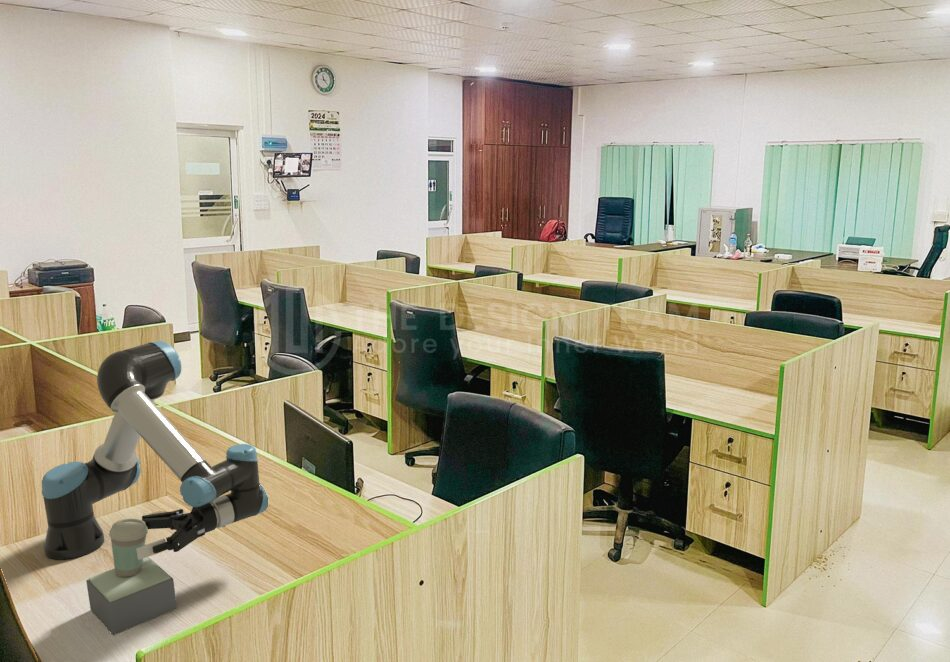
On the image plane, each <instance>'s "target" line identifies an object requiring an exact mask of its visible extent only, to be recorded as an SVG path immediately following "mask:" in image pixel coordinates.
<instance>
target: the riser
mask: <svg viewBox="0 0 950 662" xmlns="http://www.w3.org/2000/svg"><path fill="white" fill-rule="evenodd" d="M85 581H86V588H87V594H88V600H89V601H88V602H89V608H90V611H91V612H92V613H93V615H94V616H95V617H96V616H97V617H96V618H97V619H98V620H99V621H100V623H103V624H104V625H103V624H102V625H103V626H104V627H105V628H106V630H108V631H110V632H111V633H110V632H109V633H110V634H111V635H112V636H115V634H116V635H117V634H120V633H123V632H125V631H127V630H130V629H132V628H135V627H136V626H139V625H142V624H144V623H147V622H149V621H151V620H154V619H156V618H158V617H161V616H163V615H165V614H167V613H169V612H174V611H175V610H177V609H178V604H177V597H176V590H175V589H176V588H175V582H174V578H173V577H172V576H171V575H170V574H168V573H167V572H166V571H165V570H164V569H163V568H162V567H161V566H159V564H157V563H156V562H155V561H153V559H152V558H150V556H149V557H146V558H143V561H142V567H141V571H140V572H139V573H138V574H136V575H133V576H129V577H122V576H118V575H117V574H116V573H115V567H114V568H112V569H109V570H106V571H104V572H101V573H98V574H96V575H93V576H90V577H88V578H87V579H86V580H85ZM160 615H161V616H160Z"/></svg>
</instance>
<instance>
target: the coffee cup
mask: <svg viewBox="0 0 950 662" xmlns="http://www.w3.org/2000/svg"><path fill="white" fill-rule="evenodd" d="M148 533H149V529H148V528H147V526H146V523H145V522H144V521H143V520H142V519H140V518H133V517H132V518H131V517H130V518H123V519H120V520H117V521H116V522H114V523H112V525H111V527H110V530H109V533H108V537H110V542H111V549H112V550H111V551H112V558H113V559H112V560H113V566H114V568H115V573H116V574H117V575H118V576H122V577H129V576H133V575H136V574H138V573H139V572H140V571H141V567H142V561H143V559H140V560H138V557H137V550H136V548H138V547H141V546H144V545H146V541H147V534H148Z"/></svg>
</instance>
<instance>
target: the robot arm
mask: <svg viewBox="0 0 950 662" xmlns="http://www.w3.org/2000/svg"><path fill="white" fill-rule="evenodd" d="M181 373H182V362H181V359H180V356H179V353H178V352H177V350H176V349H175V347H174V346H173V345H171V344H170V343H169V342H166V341H163V340H158V341H150V342H148V343H144V344H140V345H137V346H134V347H130V348H127V349H124V350H119V351H114V352H113V353H111V354H109V355H108V356H107V357H106V358H104V360H103V361H102V362H101V364H100V366H99V368H98V371H97V376H96V377H97V378H96V382H97V388H98V391H99V394H100V396H101V398H102V400H103V402H104V403H105V404H106V406H107V407H108V408H109V409H110V410H111V412H113V413H114V415H113V417H112V420H111V423H110V426H109V428H108V431H107V433H106V437H105V439H104V442H103V443H102V444H100V445H99V446H98V447H96V448H95V451H94V454H93V456H92V459H91V460H90V461H87V462H83V461H71V462H67V463H62V464H59V465H57V466H55V467H53V468H51V469H50V470H48V471H46V473H45V474H44V475H43V477H42V479H41V494H42V498H43V503H44V509H45V515H46V520H47V521H46V522H47V530H46V535H45V540H44V546H43V549H44V553H45V554H44V555H45V556H46V557H47V558H50V559H52V560H68V559H75V558H79V557H83V556H86V555H88V554H90V553H93V552H95V551H97V550H98V549H99V548H100V547H102V546H103V544H104V543H105V533H104V531H103V529H102V527H101V525H100V524H99V522H98V521H97V519H96V517H95V514H94V513H95V512H94V506H93V505H94V504H96V503H98V502H101V501H103V500H104V499H106V498H108V497H111V496H112V495H115V494H118V493H121V492H124V491H125V490H127V489H129V488H130V487H131V486H133V485H134V484H136V483H137V482H138V480H139V478H140V476H141V471H142V470H141V466H140V464H141V462H140V459H139V458H138V456H137V454H136V452H135V451H136V449H137V446H138V444H139V441H140V439H141V438H142V440H143V441H145V443H146V444H147V445H148V446H149V447H150V448H151V449H152V450H153V452H155V454H156V455H157V456H158V458H160V459H161V461H162V462H163V463H164V464H165V465H166V466H167V467H168V468H169V469H170V471H171V472H172V473H173V474H174V475H175V476H176V477H177V478H178V480H179V481H180V482H181V484H180V487H179V493H180V495H181V496H182V500H183V502H184V503H185V504H186V505H188V506H190V507H192V509H191V511H190V512H187V513H184V509H183V508H180V509H176V510H172V511H165V512H158V513H150V514H143V515H142V516H141V520H143V521H144V522H145V523H146V526H147V528H148V530H157V529H160V530H161V529H170V530H171V531H174V530H175V531H174V532H173V533H172V534H171V535H170V536H166V539H165V538H162V539H159V540H156V541H152V542H150V543H148V544H145V545H144V546H141V547H138V548H136V550H137V557H138V560H140V559H143V558H146V557H149V558H150V557H151V556H154V555H156V554H159V553H162V552H165V551H172V552H174V553H178V552H180V551H181V550H182V549H184V548H185V547H186V546H188V545H189V544H191V543H192V542H194V541H195V540H197V539H199V538H201V537H204V536H206V534H207V533H210V532H213V531H215V530H216V529H220V528H226V526H228V525H230V524H233V523H236V522H240V521H242V520H245V519H248V518H252V517H256V516H257V515H260V514H262V513H264V512H266V511H267V510H266V509H267V507H268V497H267V495H266V492H265V490H264V488H263V487H262V486H261V485H260V484H261V483H260V474H259V473H260V472H259V463H258V462H259V460H258V456H257V454H258V453H257V448H256V447H255V446H254V445H252V444H247V443H239V444H235V445H232V446H230V447H228V448H227V450H226V454H225V458H226V459H225V460H223V461H221V462H219V463H216V464H215V465H210V463H209V462H208V461H206V459H205V458H204V457H203V456H202V454H200V452H198V451H197V449H196V448H195V447H194V446H193V445H192V444H191V442H189V440H187V438H186V437H185V436H184V435H183V434H182V433H181V432H180V430H178V428H177V427H176V426H175V425H174V424H173V423H172V422H171V420H170V419H169V418H168V417H167V416H166V415H165V414H164V413H163V412H162V410H161V409H160V408H159V407H158V406H157V404H155V400H157V399H159V398H160V397H162V396H163V395H164V393H165V390H166V387H167V385H168V384H169V382H173V381H175V380H177V379H178V378H179V377H180V375H181ZM259 485H260V486H259ZM229 492H230V493H229ZM227 493H228V494H227ZM224 494H225V495H224Z"/></svg>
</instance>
